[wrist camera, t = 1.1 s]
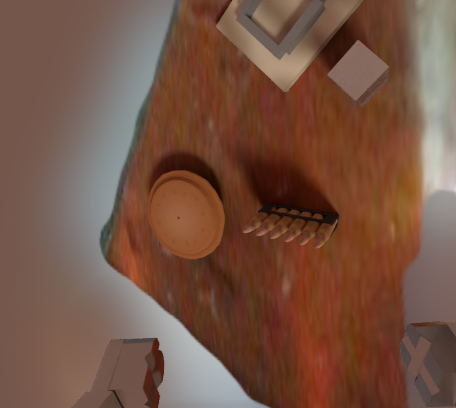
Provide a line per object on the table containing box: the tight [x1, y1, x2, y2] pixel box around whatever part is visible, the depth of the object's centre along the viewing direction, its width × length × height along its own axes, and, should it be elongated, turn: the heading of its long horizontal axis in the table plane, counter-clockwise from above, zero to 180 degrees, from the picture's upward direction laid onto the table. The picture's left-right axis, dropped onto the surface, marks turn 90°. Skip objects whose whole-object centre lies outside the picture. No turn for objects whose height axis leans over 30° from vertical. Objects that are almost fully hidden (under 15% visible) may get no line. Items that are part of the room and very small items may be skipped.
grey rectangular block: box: [327, 40, 389, 107], centre depth 35 cm, size 4×4×10 cm
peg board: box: [216, 0, 363, 92], centre depth 40 cm, size 14×14×4 cm
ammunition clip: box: [242, 203, 339, 248], centre depth 41 cm, size 11×2×12 cm, turn 86°
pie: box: [147, 170, 225, 259], centre depth 53 cm, size 15×16×5 cm
